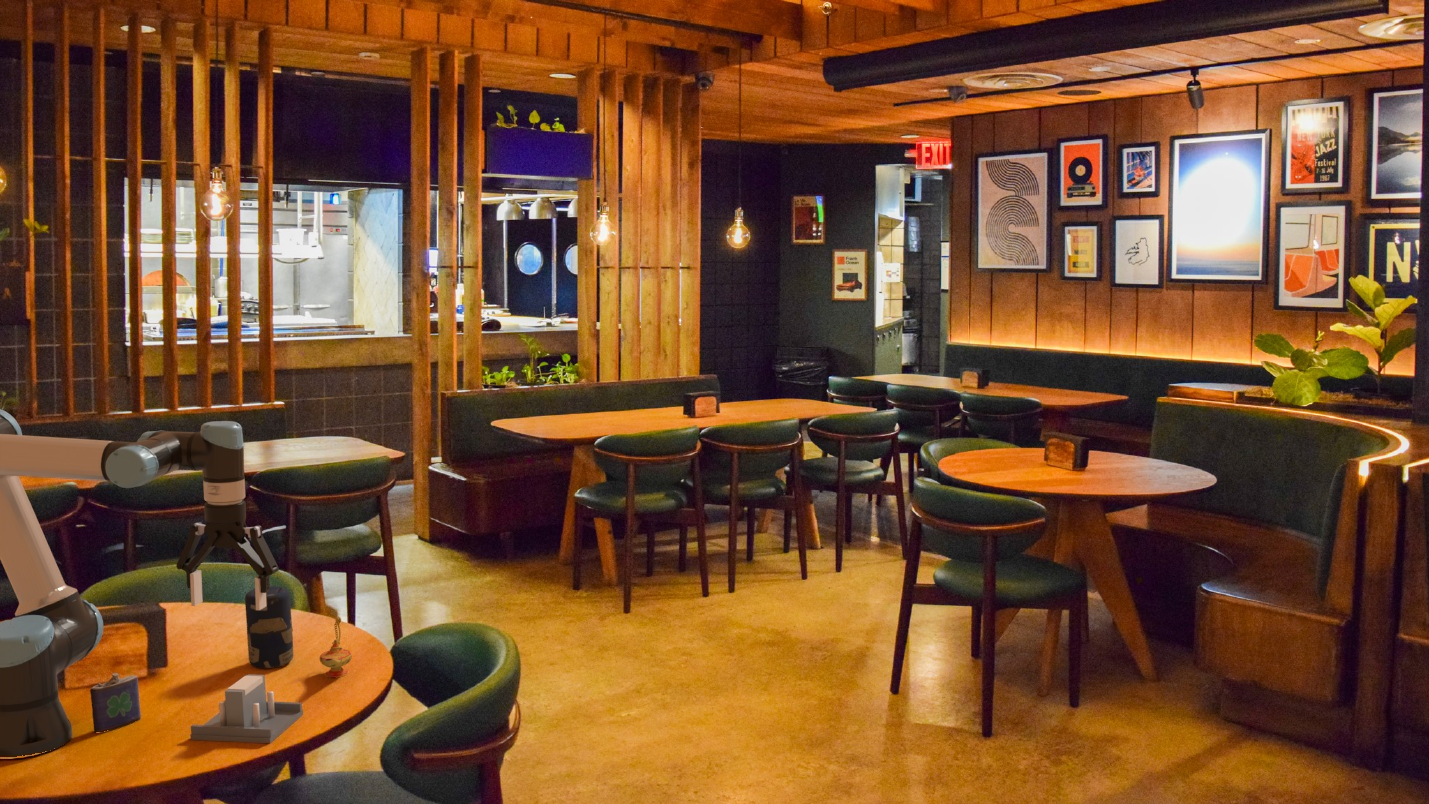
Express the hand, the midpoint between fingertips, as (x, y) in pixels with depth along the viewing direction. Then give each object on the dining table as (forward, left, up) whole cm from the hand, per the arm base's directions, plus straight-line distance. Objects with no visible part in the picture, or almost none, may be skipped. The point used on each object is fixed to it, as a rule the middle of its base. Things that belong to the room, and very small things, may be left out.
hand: (229, 606), depth 242 cm
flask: (-21, -6, -23) cm, 32 cm away
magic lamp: (+10, +24, -23) cm, 35 cm away
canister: (-7, +30, -23) cm, 38 cm away
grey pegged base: (+5, -4, -23) cm, 24 cm away
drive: (+5, -4, -22) cm, 23 cm away
